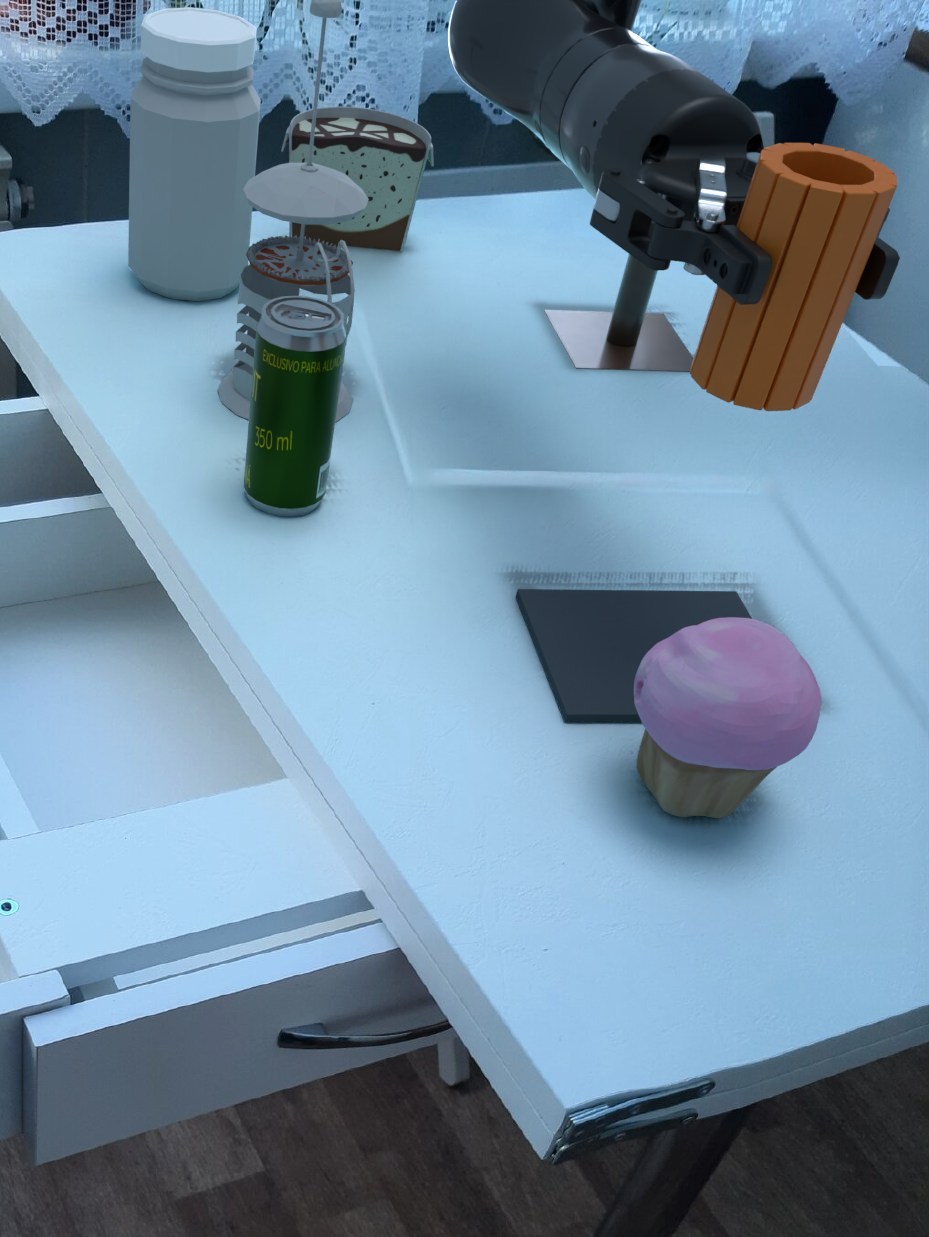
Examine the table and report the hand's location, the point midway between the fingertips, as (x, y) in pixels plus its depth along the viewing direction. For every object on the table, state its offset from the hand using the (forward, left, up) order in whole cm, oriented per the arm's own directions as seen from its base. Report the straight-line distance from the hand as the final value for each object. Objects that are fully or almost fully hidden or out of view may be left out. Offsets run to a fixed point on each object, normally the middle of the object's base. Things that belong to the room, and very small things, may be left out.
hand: (823, 281), depth 63 cm
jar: (+24, -52, -23) cm, 62 cm away
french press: (+18, -32, -23) cm, 44 cm away
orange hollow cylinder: (0, -2, -6) cm, 6 cm away
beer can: (+20, -19, -23) cm, 36 cm away
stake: (-9, -41, -23) cm, 48 cm away
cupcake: (+2, +10, -23) cm, 25 cm away
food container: (+10, -60, -23) cm, 65 cm away
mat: (0, -2, -23) cm, 23 cm away
